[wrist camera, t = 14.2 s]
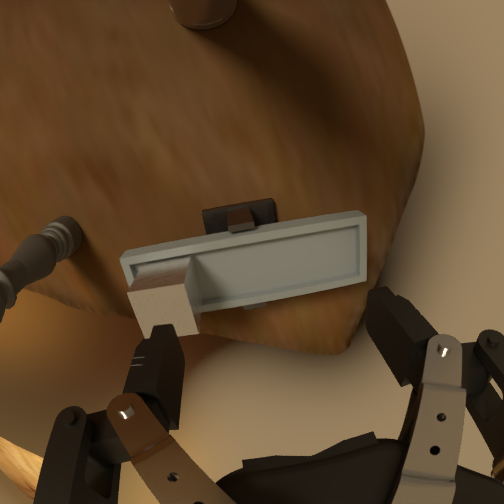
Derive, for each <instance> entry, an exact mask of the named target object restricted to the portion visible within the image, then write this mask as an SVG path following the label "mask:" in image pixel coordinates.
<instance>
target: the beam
mask: <svg viewBox="0 0 504 504" xmlns="http://www.w3.org/2000/svg"><path fill="white" fill-rule="evenodd" d="M186 254H193V258H194V263H195V267H196V270H197V274H198V278H199V282H200V286H201V290H202V294H203V299H202V308H201V312H208V311H214V310H220V309H226V308H232V307H238V306H244V305H250V304H256V303H261V302H267V301H272V300H278V299H283V298H288V297H293V296H298V295H303V294H308V293H313V292H318V291H323V290H328V289H332V288H337V287H342V286H346V285H351V284H355V283H360V282H364V281H366V277H367V215H365V214H363V213H362V212H360V211H358V210H354V211H347V212H341V213H334V214H328V215H321V216H315V217H309V218H302V219H296V220H290V221H284V222H278V223H272V224H266V225H260V226H255V228H254V229H248V230H242V231H236V232H231V233H229V231H226V232H220V233H215V234H209V235H204V236H198V237H193V238H188V239H182V240H177V241H172V242H166V243H161V244H156V245H151V246H146V247H141V248H136V249H131V250H126V251H125V252H124V254H123V255H122V256H121V258H120V262H121V265H122V268H123V271H124V274H125V277H126V279H127V282H128V285H129V288H130V286H131V284H132V282H133V280H134V279H135V277H136V275H137V273H138V272H139V270H140V268H141V267H142V265H143V263H144V262H148V261H153V260H159V259H164V258H170V257H175V256H181V255H186Z"/></svg>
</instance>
